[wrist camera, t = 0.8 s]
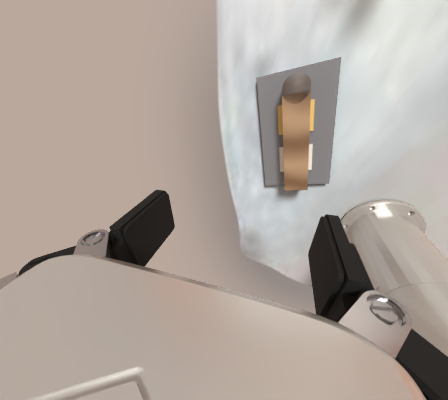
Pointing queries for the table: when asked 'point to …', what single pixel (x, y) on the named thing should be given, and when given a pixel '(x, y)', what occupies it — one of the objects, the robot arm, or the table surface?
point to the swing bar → (296, 130)
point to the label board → (319, 120)
